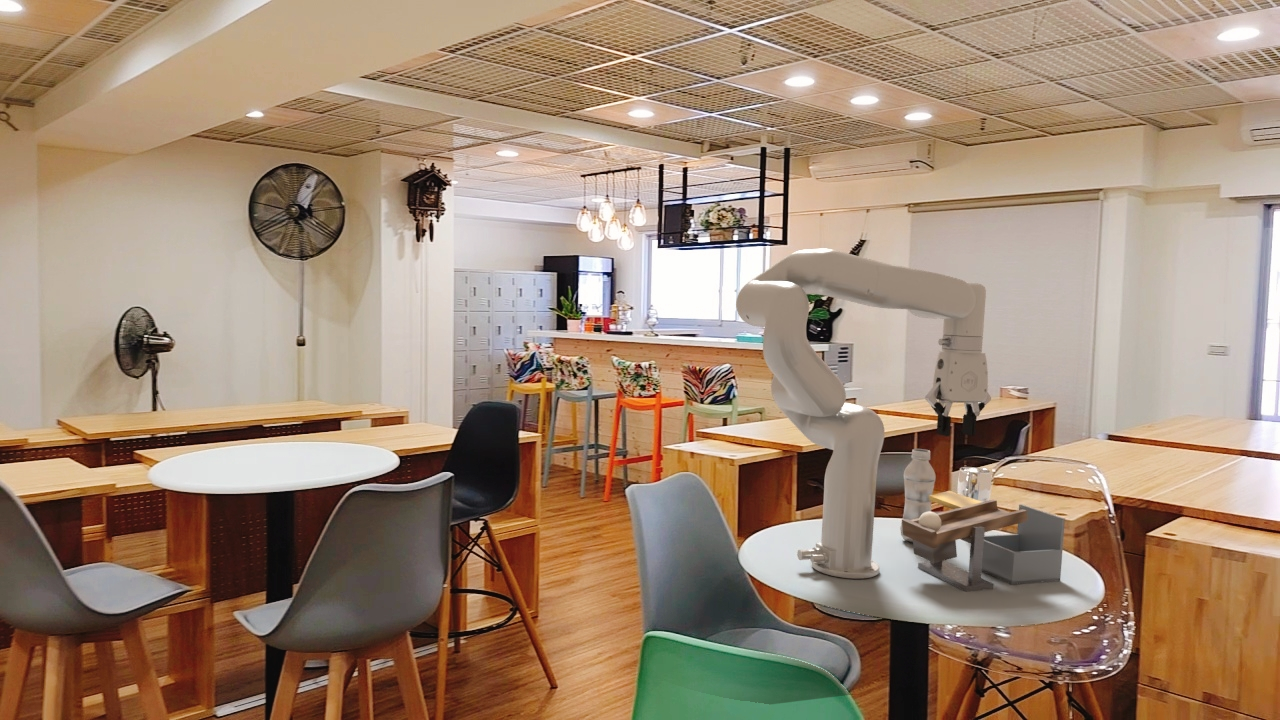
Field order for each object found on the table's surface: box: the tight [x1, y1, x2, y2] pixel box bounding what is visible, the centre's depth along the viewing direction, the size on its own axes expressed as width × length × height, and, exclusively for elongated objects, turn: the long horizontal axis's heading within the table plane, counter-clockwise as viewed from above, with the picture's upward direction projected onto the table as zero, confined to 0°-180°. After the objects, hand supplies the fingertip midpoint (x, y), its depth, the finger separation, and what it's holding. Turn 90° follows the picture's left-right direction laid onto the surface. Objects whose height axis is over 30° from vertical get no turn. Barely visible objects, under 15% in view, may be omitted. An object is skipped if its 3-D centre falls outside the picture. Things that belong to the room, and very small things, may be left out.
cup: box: [982, 504, 1066, 585], centre depth 169 cm, size 11×11×12 cm
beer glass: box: [956, 466, 992, 536], centre depth 195 cm, size 7×7×15 cm
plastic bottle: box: [899, 448, 937, 543], centre depth 188 cm, size 6×7×20 cm
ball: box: [919, 511, 941, 532], centre depth 162 cm, size 4×4×4 cm
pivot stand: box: [917, 511, 995, 592], centre depth 164 cm, size 6×14×11 cm, turn 18°
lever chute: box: [901, 490, 1027, 563], centre depth 169 cm, size 21×19×6 cm
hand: (956, 434), depth 176 cm, fingers open, 5 cm apart
